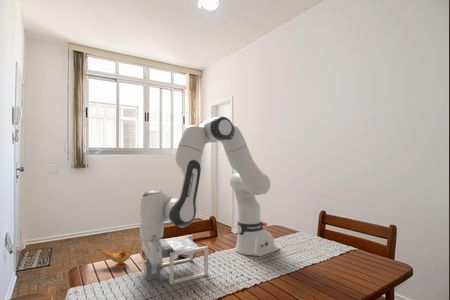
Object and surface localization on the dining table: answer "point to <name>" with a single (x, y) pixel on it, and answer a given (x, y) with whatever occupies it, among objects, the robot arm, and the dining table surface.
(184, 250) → the frame
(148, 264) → the stone
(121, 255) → the magic lamp
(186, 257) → the rock sample
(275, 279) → the dining table surface
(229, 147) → the robot arm
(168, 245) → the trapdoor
